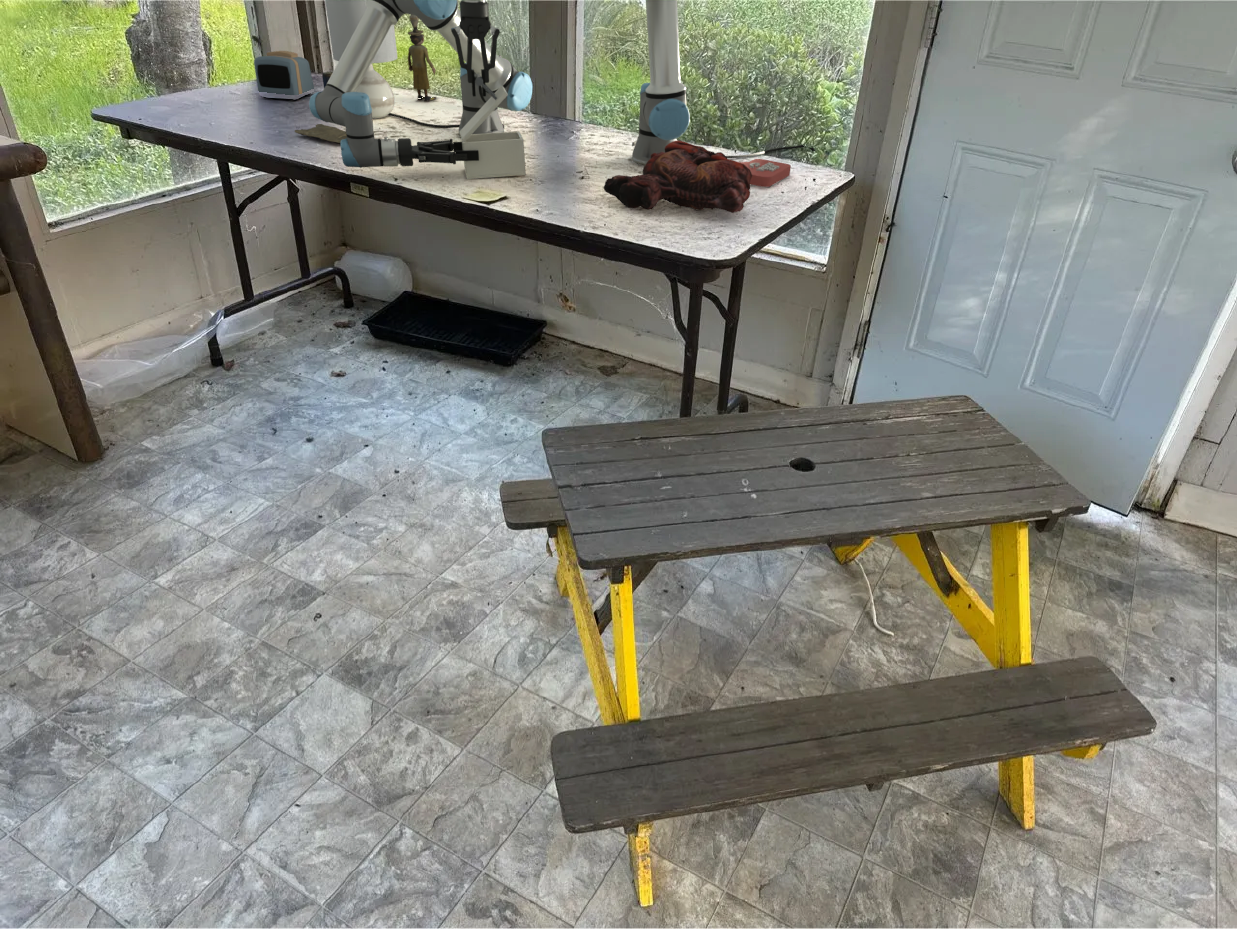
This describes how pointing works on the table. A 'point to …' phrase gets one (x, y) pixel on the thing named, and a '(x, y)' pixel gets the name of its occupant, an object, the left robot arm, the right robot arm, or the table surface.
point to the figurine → (419, 61)
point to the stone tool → (324, 133)
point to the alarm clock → (283, 73)
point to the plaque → (767, 172)
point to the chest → (495, 155)
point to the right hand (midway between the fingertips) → (479, 95)
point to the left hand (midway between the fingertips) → (477, 150)
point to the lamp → (343, 19)
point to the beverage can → (326, 77)
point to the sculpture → (685, 180)
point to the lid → (483, 108)
